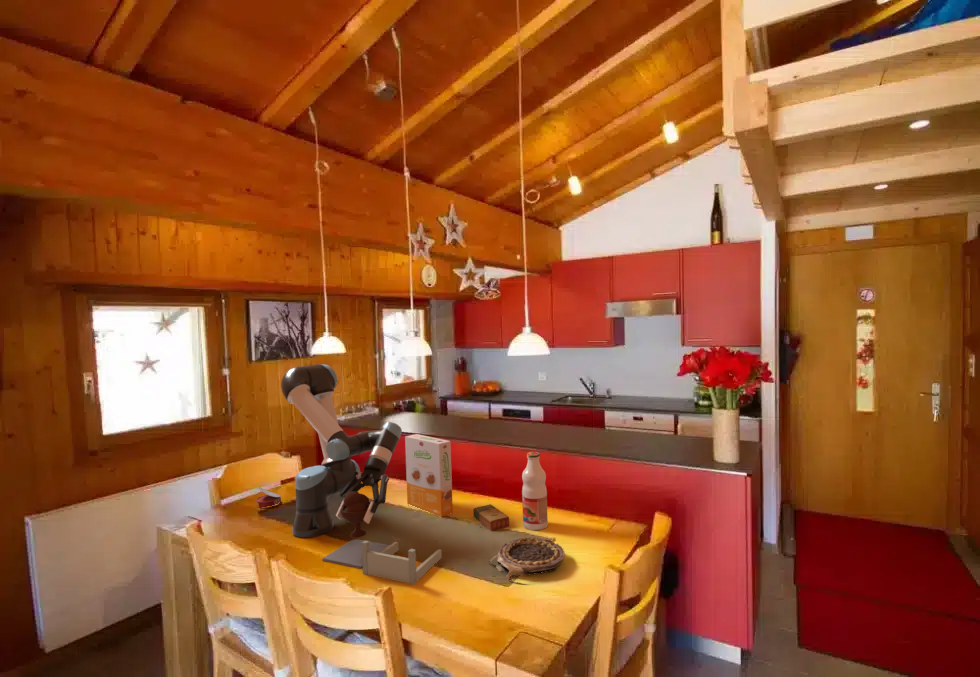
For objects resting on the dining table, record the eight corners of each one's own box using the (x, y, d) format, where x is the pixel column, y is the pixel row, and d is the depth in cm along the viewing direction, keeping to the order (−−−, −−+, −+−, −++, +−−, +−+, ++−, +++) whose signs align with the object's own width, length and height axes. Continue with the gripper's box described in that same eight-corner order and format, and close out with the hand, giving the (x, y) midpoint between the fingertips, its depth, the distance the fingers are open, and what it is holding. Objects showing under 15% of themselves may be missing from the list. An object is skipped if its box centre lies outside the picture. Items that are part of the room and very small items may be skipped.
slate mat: (322, 560, 165) (322, 558, 165) (353, 541, 179) (353, 538, 179) (361, 568, 158) (361, 566, 158) (390, 547, 173) (390, 545, 173)
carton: (490, 531, 185) (490, 520, 184) (472, 517, 199) (472, 507, 199) (510, 527, 188) (509, 516, 188) (491, 513, 203) (490, 503, 203)
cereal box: (452, 512, 204) (450, 441, 203) (441, 517, 199) (438, 444, 198) (418, 500, 219) (416, 434, 218) (407, 504, 215) (405, 436, 214)
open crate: (363, 573, 155) (361, 542, 155) (394, 550, 171) (393, 521, 171) (413, 584, 147) (412, 551, 147) (442, 558, 163) (441, 529, 163)
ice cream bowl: (366, 541, 162) (364, 496, 162) (335, 540, 164) (333, 495, 164) (380, 528, 172) (378, 486, 172) (350, 527, 174) (348, 485, 174)
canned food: (264, 512, 224) (267, 489, 229) (284, 510, 223) (287, 487, 227) (248, 508, 214) (252, 485, 219) (270, 506, 213) (273, 483, 217)
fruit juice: (550, 529, 184) (548, 455, 183) (526, 532, 183) (524, 457, 182) (543, 519, 193) (542, 449, 193) (520, 522, 192) (518, 451, 191)
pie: (516, 538, 178) (516, 525, 178) (588, 556, 164) (588, 541, 163) (473, 572, 154) (473, 557, 154) (552, 597, 140) (552, 579, 140)
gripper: (409, 469, 177) (385, 528, 163) (357, 464, 187) (330, 520, 173) (400, 458, 172) (375, 518, 158) (347, 454, 182) (319, 510, 168)
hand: (352, 519), depth 165 cm, fingers closed on ice cream bowl, 11 cm apart
